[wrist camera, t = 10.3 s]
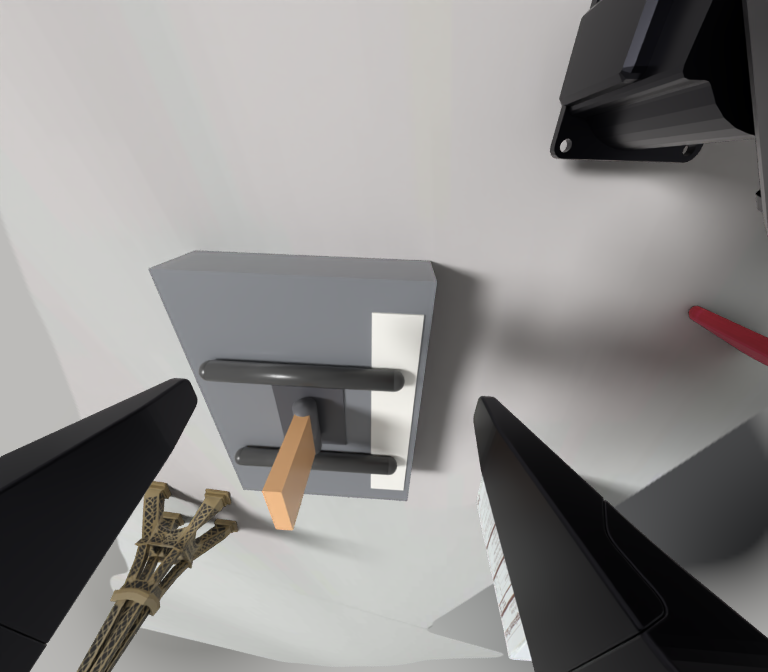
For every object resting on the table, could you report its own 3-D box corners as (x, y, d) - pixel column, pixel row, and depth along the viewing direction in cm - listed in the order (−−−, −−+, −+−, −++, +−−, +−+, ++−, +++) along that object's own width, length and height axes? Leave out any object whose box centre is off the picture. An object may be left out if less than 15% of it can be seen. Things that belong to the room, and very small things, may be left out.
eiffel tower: (144, 479, 34) (-281, 989, 13) (228, 490, 35) (-47, 1003, 13) (165, 520, 40) (-107, 925, 18) (238, 529, 40) (54, 936, 19)
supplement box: (554, 466, 29) (647, 645, 18) (536, 504, 32) (604, 670, 22) (482, 464, 29) (531, 638, 18) (473, 501, 33) (509, 663, 22)
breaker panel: (430, 260, 18) (440, 291, 13) (406, 462, 29) (407, 516, 25) (194, 250, 18) (126, 277, 14) (261, 453, 30) (236, 504, 25)
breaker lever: (318, 397, 19) (286, 490, 14) (324, 438, 21) (298, 532, 16) (296, 396, 19) (255, 488, 14) (304, 437, 21) (271, 530, 16)
